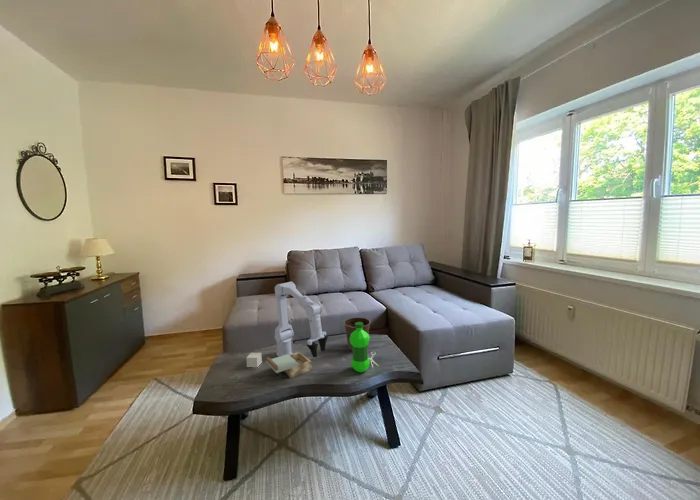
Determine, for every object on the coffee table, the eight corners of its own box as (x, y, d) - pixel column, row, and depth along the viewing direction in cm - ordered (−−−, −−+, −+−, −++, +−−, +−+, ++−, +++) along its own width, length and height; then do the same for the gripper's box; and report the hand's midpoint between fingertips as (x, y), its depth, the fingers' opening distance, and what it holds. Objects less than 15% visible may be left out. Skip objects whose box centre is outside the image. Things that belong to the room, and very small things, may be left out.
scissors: (373, 350, 171) (386, 366, 152) (373, 351, 171) (386, 367, 152) (356, 352, 169) (367, 369, 149) (356, 354, 169) (367, 370, 149)
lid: (276, 373, 140) (276, 367, 139) (266, 362, 151) (266, 357, 151) (299, 365, 147) (298, 359, 146) (287, 355, 158) (287, 350, 158)
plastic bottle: (355, 363, 157) (353, 318, 154) (373, 367, 152) (372, 321, 149) (347, 372, 148) (345, 325, 145) (366, 376, 143) (364, 328, 140)
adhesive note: (262, 362, 161) (261, 352, 161) (257, 368, 156) (257, 357, 155) (251, 362, 162) (251, 352, 161) (247, 368, 156) (246, 357, 156)
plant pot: (368, 354, 167) (367, 327, 165) (341, 352, 170) (340, 326, 169) (373, 342, 182) (372, 317, 181) (348, 341, 186) (347, 316, 184)
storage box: (290, 378, 144) (289, 368, 144) (279, 367, 156) (279, 358, 155) (311, 370, 151) (311, 361, 151) (300, 360, 163) (299, 351, 162)
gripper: (314, 332, 139) (317, 360, 139) (329, 323, 152) (332, 348, 152) (302, 332, 142) (305, 359, 143) (318, 323, 155) (321, 348, 155)
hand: (319, 353), depth 148 cm, fingers open, 7 cm apart
